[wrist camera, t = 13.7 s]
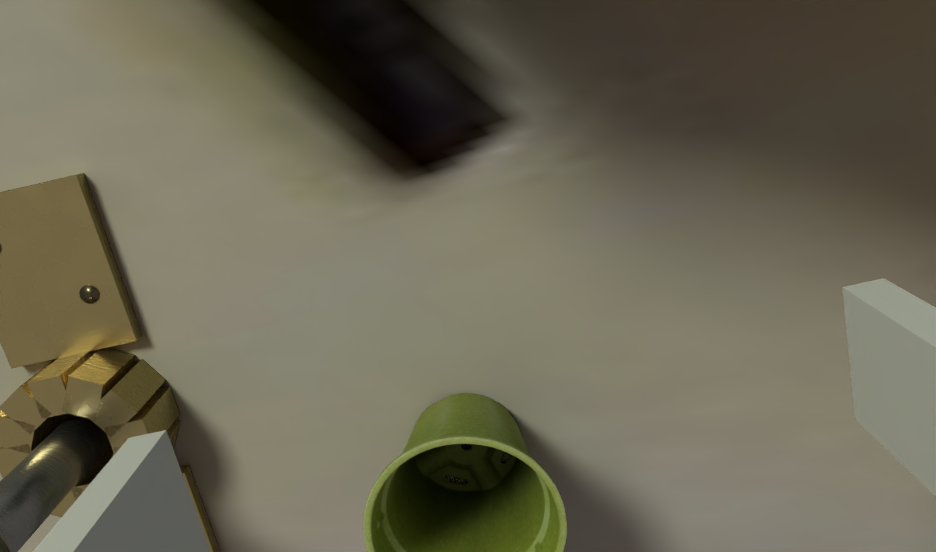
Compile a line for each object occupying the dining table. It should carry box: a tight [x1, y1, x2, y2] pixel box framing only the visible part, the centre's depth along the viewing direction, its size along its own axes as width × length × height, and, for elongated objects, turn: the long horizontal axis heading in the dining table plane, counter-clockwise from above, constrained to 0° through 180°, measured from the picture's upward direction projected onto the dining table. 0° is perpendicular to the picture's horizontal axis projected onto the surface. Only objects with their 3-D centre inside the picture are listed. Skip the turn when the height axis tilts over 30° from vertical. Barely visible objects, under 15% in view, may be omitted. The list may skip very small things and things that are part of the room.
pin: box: [0, 414, 111, 552], centre depth 38 cm, size 4×4×14 cm
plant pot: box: [363, 393, 567, 552], centre depth 41 cm, size 9×9×9 cm
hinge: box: [0, 173, 220, 552], centre depth 43 cm, size 26×8×4 cm, turn 13°
